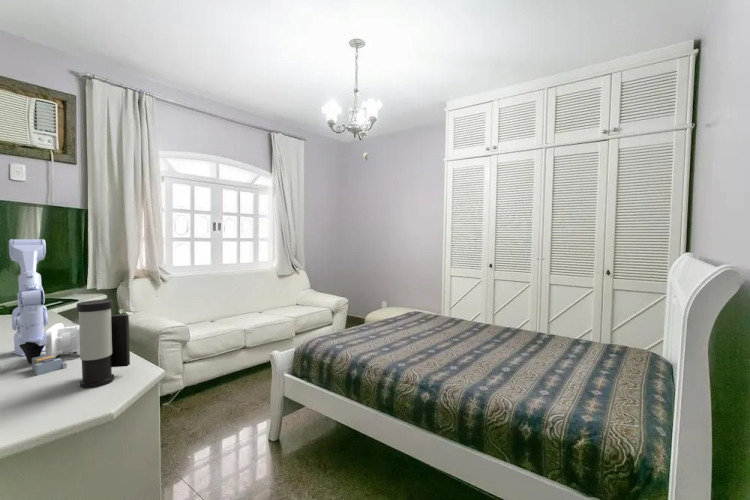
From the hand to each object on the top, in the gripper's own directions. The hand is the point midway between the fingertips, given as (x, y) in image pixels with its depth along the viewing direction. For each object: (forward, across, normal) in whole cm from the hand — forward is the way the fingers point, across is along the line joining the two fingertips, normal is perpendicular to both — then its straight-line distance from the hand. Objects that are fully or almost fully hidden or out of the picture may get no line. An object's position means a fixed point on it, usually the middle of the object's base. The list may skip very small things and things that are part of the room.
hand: (33, 363), depth 120 cm
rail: (+1, +4, +3) cm, 5 cm away
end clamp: (+1, +12, -1) cm, 12 cm away
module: (+1, +7, 0) cm, 7 cm away
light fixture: (+1, +36, +2) cm, 36 cm away
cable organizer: (+1, -3, +11) cm, 12 cm away
